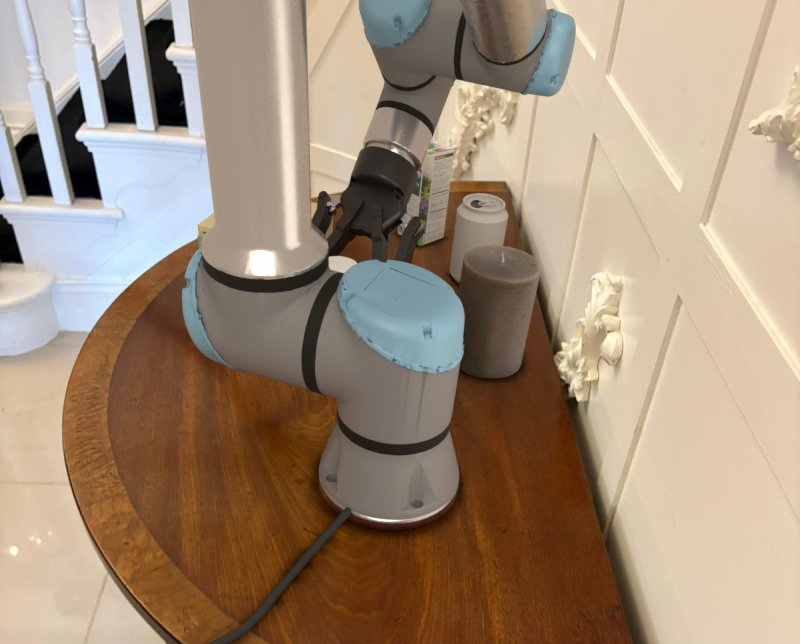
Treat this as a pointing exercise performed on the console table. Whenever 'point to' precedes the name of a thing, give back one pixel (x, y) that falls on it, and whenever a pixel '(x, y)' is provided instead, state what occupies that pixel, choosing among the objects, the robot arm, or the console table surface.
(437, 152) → the syrup box
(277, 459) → the console table surface
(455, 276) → the can
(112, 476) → the console table surface
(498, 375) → the pillar candle
